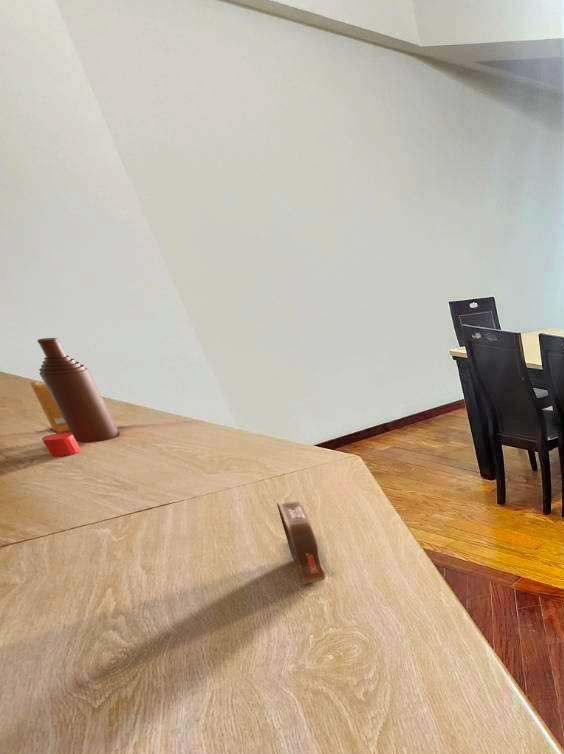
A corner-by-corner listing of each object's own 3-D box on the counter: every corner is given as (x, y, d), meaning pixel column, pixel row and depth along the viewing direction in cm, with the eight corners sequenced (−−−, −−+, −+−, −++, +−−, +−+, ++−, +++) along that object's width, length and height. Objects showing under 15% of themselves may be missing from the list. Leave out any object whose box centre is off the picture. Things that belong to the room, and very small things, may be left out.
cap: (83, 452, 110) (74, 436, 108) (53, 458, 107) (43, 441, 106) (78, 447, 112) (70, 431, 110) (49, 452, 109) (39, 436, 108)
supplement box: (84, 432, 119) (57, 382, 114) (60, 436, 117) (32, 385, 112) (77, 429, 121) (51, 379, 116) (54, 433, 118) (26, 383, 113)
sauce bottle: (69, 443, 114) (14, 343, 104) (83, 433, 118) (31, 336, 109) (113, 440, 116) (63, 341, 107) (124, 430, 121) (78, 335, 112)
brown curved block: (289, 549, 83) (268, 494, 79) (315, 542, 85) (296, 489, 81) (306, 596, 73) (283, 537, 69) (335, 588, 75) (314, 530, 71)
